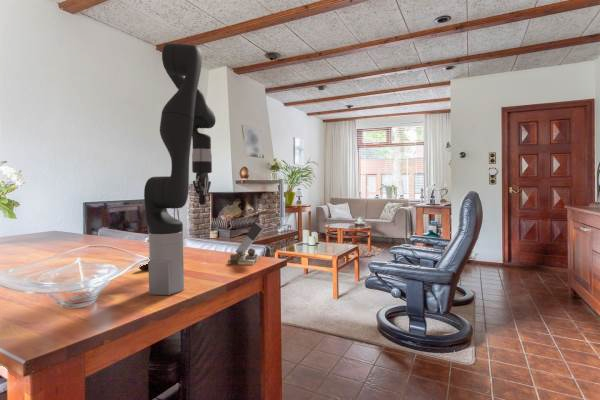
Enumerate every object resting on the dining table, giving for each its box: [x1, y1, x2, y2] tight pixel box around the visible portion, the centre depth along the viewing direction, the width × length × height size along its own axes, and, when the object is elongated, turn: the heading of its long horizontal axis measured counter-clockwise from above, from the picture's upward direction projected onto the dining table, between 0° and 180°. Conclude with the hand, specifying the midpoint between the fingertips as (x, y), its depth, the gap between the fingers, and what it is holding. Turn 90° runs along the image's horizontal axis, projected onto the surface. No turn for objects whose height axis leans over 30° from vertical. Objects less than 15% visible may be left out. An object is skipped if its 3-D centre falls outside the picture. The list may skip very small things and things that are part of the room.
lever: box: [234, 221, 265, 256], centre depth 136 cm, size 6×4×16 cm
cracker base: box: [227, 247, 260, 266], centre depth 137 cm, size 10×10×5 cm
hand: (202, 204), depth 137 cm, fingers closed
